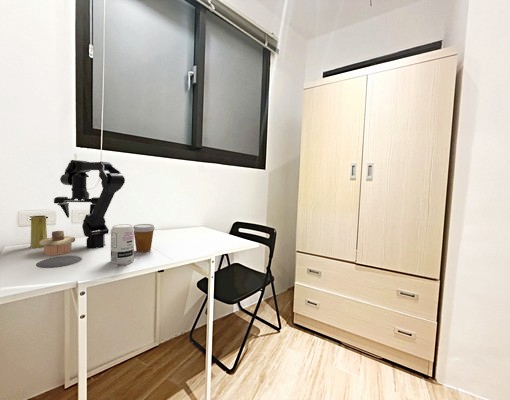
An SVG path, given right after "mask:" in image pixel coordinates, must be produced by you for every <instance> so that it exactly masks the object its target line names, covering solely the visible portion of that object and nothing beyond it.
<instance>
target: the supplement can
mask: <svg viewBox="0 0 510 400" xmlns="http://www.w3.org/2000/svg"><path fill="white" fill-rule="evenodd" d="M133 227H134V225H132V224H127V223H124V224H114V225H112V227H111V229H110V263H111V264H114V265H115V264H116V265H118V266H123V265H124V266H125V265H128V264H131V263H133V261H134V259H135V237H134V228H133Z"/></svg>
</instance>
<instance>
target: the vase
mask: <svg viewBox="0 0 510 400" xmlns="http://www.w3.org/2000/svg"><path fill="white" fill-rule="evenodd" d="M47 230H48V229H47V216H46V215H31V216H30V247H29V248H30V249H42V248H43V249H44V246H43V245H40V240H43V239H46V238H48V231H47Z"/></svg>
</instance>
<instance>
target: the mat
mask: <svg viewBox="0 0 510 400" xmlns="http://www.w3.org/2000/svg"><path fill="white" fill-rule="evenodd" d="M82 260H83V257H82V256H78V255H62V256H59V255H58V256H55V257H54V256H53V257H48V258H45V259H43V260H40V261H38V262H37V263H36V264H35V267H36V268H40V269H55V268H57V269H58V268H63V267H68V266H71V265H72V266H73V265H75V264H78V263H80V262H81V261H82Z"/></svg>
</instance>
